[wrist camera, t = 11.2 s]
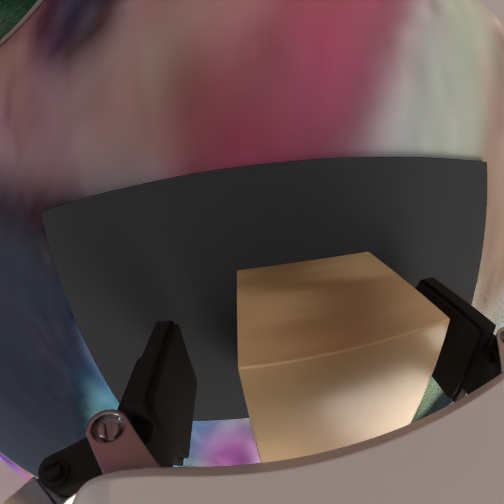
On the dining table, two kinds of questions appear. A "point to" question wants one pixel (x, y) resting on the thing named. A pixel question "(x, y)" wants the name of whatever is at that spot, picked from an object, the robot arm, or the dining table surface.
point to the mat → (251, 250)
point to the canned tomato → (15, 15)
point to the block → (332, 352)
